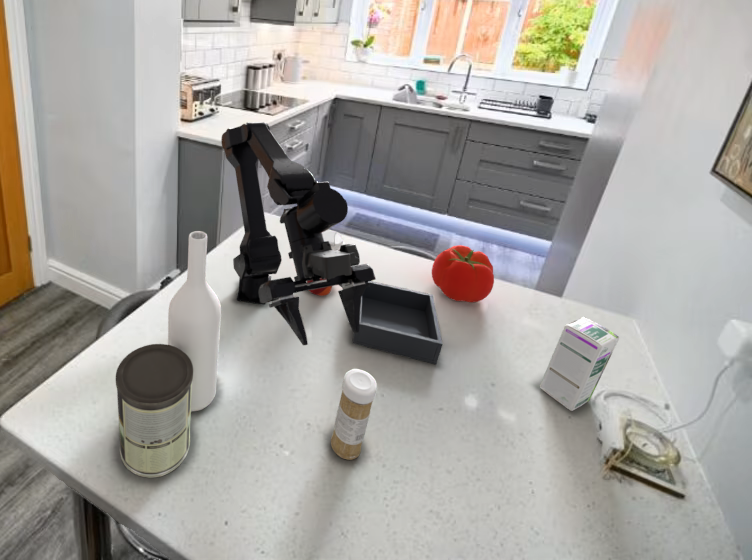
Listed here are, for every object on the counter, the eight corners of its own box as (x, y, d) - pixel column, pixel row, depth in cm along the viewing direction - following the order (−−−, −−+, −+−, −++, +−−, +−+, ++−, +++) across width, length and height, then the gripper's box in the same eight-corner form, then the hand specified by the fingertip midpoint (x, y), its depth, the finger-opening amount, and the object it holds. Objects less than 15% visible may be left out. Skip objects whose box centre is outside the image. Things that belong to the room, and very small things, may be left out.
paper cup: (338, 299, 98) (348, 246, 93) (304, 297, 98) (312, 244, 93) (331, 279, 106) (341, 228, 100) (300, 277, 105) (307, 226, 100)
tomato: (439, 269, 113) (450, 234, 109) (494, 294, 105) (508, 256, 101) (417, 290, 104) (428, 253, 100) (476, 319, 95) (490, 279, 91)
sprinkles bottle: (349, 429, 68) (365, 364, 63) (366, 456, 65) (384, 389, 59) (324, 437, 67) (338, 371, 62) (340, 465, 63) (356, 397, 58)
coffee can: (105, 440, 64) (101, 367, 59) (163, 401, 71) (164, 332, 66) (144, 495, 57) (143, 419, 52) (204, 446, 64) (209, 374, 59)
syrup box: (572, 412, 74) (605, 347, 69) (537, 386, 79) (565, 323, 74) (589, 401, 77) (622, 337, 71) (554, 376, 82) (583, 314, 76)
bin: (352, 343, 86) (356, 323, 84) (355, 296, 100) (359, 278, 98) (436, 364, 82) (443, 344, 80) (427, 312, 96) (433, 294, 94)
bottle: (205, 418, 68) (215, 256, 57) (158, 403, 70) (159, 242, 59) (222, 379, 76) (234, 228, 64) (179, 366, 78) (183, 217, 66)
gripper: (273, 235, 62) (299, 349, 57) (380, 221, 69) (412, 322, 64) (248, 253, 72) (269, 352, 67) (344, 239, 79) (370, 328, 73)
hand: (331, 338), depth 67 cm, fingers open, 9 cm apart
